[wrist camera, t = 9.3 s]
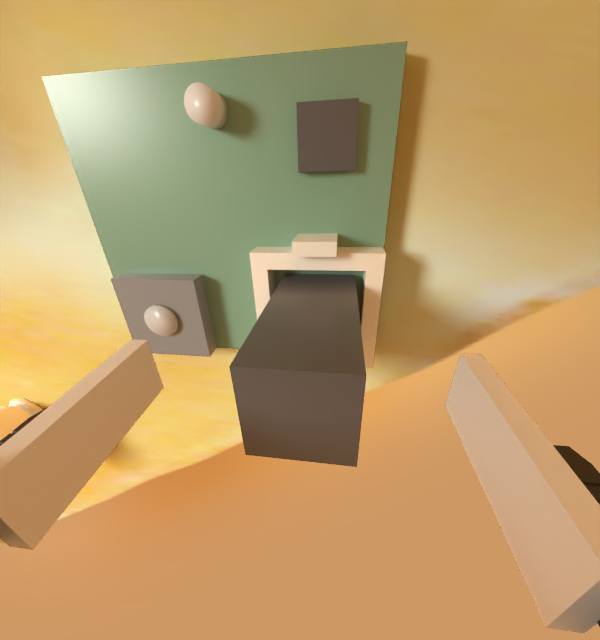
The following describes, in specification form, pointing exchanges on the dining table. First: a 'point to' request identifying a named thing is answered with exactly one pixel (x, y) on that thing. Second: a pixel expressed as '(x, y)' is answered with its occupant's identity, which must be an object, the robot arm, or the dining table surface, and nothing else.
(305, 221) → the board
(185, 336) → the grey push button
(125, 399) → the robot arm
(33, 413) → the cup
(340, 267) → the frame
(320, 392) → the plug
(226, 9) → the dining table surface
